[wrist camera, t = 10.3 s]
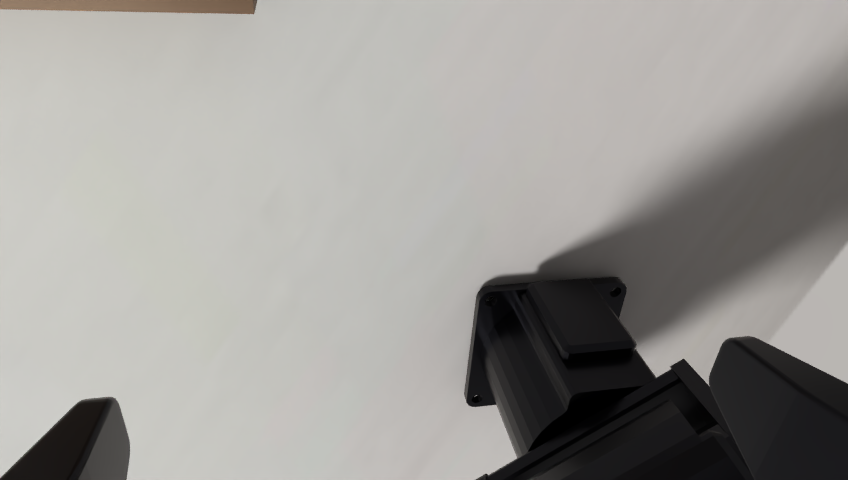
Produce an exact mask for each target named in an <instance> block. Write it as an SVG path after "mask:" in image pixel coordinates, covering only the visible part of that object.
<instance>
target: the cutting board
mask: <svg viewBox="0 0 848 480" xmlns="http://www.w3.org/2000/svg"><path fill="white" fill-rule="evenodd" d="M256 3H257V0H0V9H18V10H70V11H123V12H175V13H228V14H254V12H255V8H256Z"/></svg>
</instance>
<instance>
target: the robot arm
mask: <svg viewBox="0 0 848 480" xmlns="http://www.w3.org/2000/svg"><path fill="white" fill-rule="evenodd" d="M613 288H616V289H615V290H613V291H611V290H612V289H613ZM626 289H627V288H626V286H625V284H624V283H623V282H622V280H621V279H619V278H617V277H609V278H595V279H573V280H558V281H544V282H533V283H523V284H508V285H494V286H486V287H484V288H482V289H481V290H480V291H479V292H478V294H477V296H476V304H475V312H474V320H473V328H472V336H471V344H470V352H469V360H468V368H467V376H466V384H465V392H464V395H465V399H466V402H467V404H468V405H469V406H472V407H479V406H488V405H497V407H498V410H499V412H500V415H501V417H502V420H503V423H504V425H505V428H506V430H507V433H508V435H509V438H510V440H511V443H512V446H513V448H514V451H515V453H516V456H517V459H516V460H514V461H512V462H510V463H509V464H507V465H505V466H504V467H502V468H500V469H498V470H497V471H495V472H493V473H491V474H490V475H487V474H485V475H483V476H481V477H479V478H478V479H476V480H848V384H847V383H845V382H843V381H841V380H839V379H837V378H835V377H833V376H831V375H829V374H827V373H825V372H823V371H821V370H819V369H817V368H815V367H813V366H811V365H809V364H807V363H805V362H803V361H801V360H799V359H797V358H795V357H793V356H791V355H789V354H787V353H785V352H783V351H781V350H779V349H777V348H775V347H773V346H771V345H769V344H767V343H765V342H763V341H761V340H759V339H757V338H755V337H750V336H745V337H734V338H729V339H727V340H725V341H724V342H723V344H722V346H721V348H720V350H719V353H718V355H717V358H716V360H715V363H714V365H713V368H712V370H711V373H710V376H709V385H710V387H709V386H708V384H707V383H706V382H705V381H704V380H703V379H702V378H701V377H700V376H699V375H698V374H697V372H696V371H695V370H694V369H693V368H692V367H691V366H690V365H689V364H688V363H687V362H686V360H685V359H682V360H681V361H679V362H677V363H675V364H674V365H672V366H670V367H671V370H669V371H667V372H665V373H664V374H662V375H660V376H659V377H657V378H656V377H655V375H654V374H653V372H652V371H651V370H650V368H649V367H648V365H647V364H646V363H645V361H644V360H643V359H642V357H641V356H640V354H639V353H638V352H637V350H636V349H635V348H636V342H635V341H634V339H633V338H632V337H631V335H630V334H629V332H628V331H627V330H626V328H625V327H624V326H623V324H622V323H621V322H620V320H619V316H620V312H621V309H622V305H623V302H624V298H625V294H626ZM491 296H492V297H493V298H492V299H491V300H488V301H486V299H487V298H488V297H491ZM475 395H477V396H475ZM474 396H475V397H474ZM129 457H130V442H129V437H128V433H127V430H126V427H125V423H124V420H123V416H122V413H121V409H120V406H119V403H118V402H117V400H116V399H115V398H113V397H103V398H92V399H84V400H81V401H80V402H78V403H77V404H76V405H74V406H73V407H72V408H71V409H70V410H69V411H68V412H67V413H66V414H65V415H64V416H63V417H62V418H61V419H60V420H59V421H58V422H57V423H56V424H55V425H54V426H53V427H52V428H51V429H50V430H49V431H48V432H47V433H46V434H45V435H44V436H43V437H42V438H41V439H40V440H39V441H38V442H37V443H36V444H35V445H34V446H32V447H31V448H30V449H29V450H28V451H27V452H26V453H25V454H24V455H23V456H22V457H21V458H20V459H19V460H18V461H17V462H16V463H15V464H14V465H13V466H12V467H11V468H10V469H9V470H8V471H7V472H6V473H5V474H4V475H3V476H2V477H1V478H0V480H126V479H127V472H128V465H129Z"/></svg>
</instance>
